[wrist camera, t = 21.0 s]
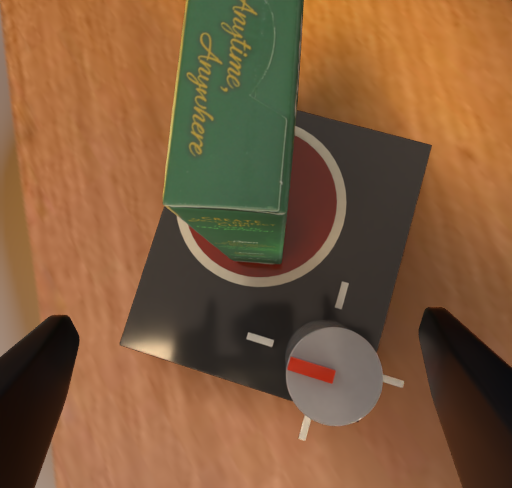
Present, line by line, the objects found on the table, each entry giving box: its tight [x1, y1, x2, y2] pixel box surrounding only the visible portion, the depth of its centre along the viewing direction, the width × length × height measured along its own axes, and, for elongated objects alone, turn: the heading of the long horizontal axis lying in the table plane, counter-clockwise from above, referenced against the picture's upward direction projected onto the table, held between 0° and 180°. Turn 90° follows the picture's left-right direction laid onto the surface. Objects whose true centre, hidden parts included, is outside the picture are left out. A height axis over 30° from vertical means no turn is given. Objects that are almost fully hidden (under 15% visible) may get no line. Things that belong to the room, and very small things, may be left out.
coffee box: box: [163, 0, 304, 264], centre depth 15 cm, size 8×3×13 cm, turn 175°
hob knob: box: [285, 320, 383, 426], centre depth 19 cm, size 4×4×4 cm
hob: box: [120, 110, 432, 441], centre depth 23 cm, size 17×15×3 cm
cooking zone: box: [177, 126, 346, 287], centre depth 22 cm, size 9×9×1 cm
